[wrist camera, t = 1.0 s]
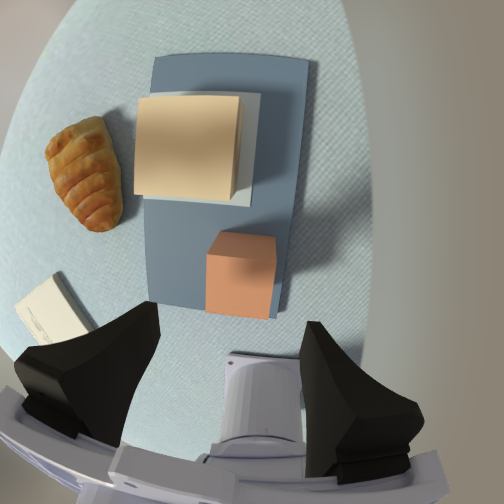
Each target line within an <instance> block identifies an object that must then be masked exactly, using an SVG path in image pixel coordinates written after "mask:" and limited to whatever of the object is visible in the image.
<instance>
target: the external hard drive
mask: <svg viewBox="0 0 504 504" xmlns="http://www.w3.org/2000/svg"><path fill="white" fill-rule="evenodd" d="M15 309H16V311H17V313H18V314H19V316H20V317H21V319H22V320H23V322H24V323H25V325H26V326H27V328H28V329H29V331H30V332H31V333H32V335H33V336H34V338H35V339H36V340H37V342H38V343H39V344H40V345H48V344H53V343H58V342H62V341H66V340H69V339H72V338H75V337H78V336H81V335H84V334H87V333H89V332H91V331H94V330H95V329H94V327H93V326H92V325H91V323H90V322H89V321H88V319H87V318H86V316H85V315H84V314H83V312H82V311H81V309H80V308H79V306H78V305H77V303H76V302H75V300H74V299H73V297H72V296H71V294H70V293H69V291H68V289H67V288H66V286H65V285H64V283H63V281H62V280H61V278H60V276H59V275H58V273H57V272H56V273H55V274H53V275H52V276H51V277H49V278H48V279H47V280H46V281H44V282H43V283H42V284H40V285H39V286H38V287H37V288H35V289H34V290H33V291H32V292H30V293H29V294H28V295H27V296H25V297H24V298H23V299H22V300H21V301H19V302H18V303H17V304H16V305H15Z"/></svg>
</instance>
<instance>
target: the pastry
mask: <svg viewBox="0 0 504 504" xmlns="http://www.w3.org/2000/svg"><path fill="white" fill-rule="evenodd" d="M45 158H46V160H47V161H48V165H49V171H50V176H51V179H52V181H53V182H54V188H55V191H56V193H57V195H59V197H60V198H61V199H62V201H63V202H64V204H65V205H66V206H67V207H68V208H69V209H70V211H71V212H72V214H73V215H74V216H75V217H76V218H77V219H78V220H79V222H80V223H81V224H83V225H84V226H85V227H86V228H87V229H88V230H89V231H94V232H105V231H109V230H111V229H113V228H115V227H116V226H117V224H118V222H119V219H120V217H121V215H122V212H123V201H122V194H121V166H120V165H119V163H118V161H117V156H116V154H115V150H114V146H113V142H112V139H111V136H110V134H109V131H108V129H107V127H106V124H105V122H104V120H103V119H102V118H101V117H100V116H94V117H90V118H87V119H84V120H81V121H80V122H79V123H76V124H74V125H71V126H69V127H66V128H65V129H64V130H62V131H61V132H59V133H58V134H57V135H56V136H54V137H53V138H52V139H51V140H50V142H49V144H48V145H47V147H46V150H45Z"/></svg>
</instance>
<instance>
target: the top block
mask: <svg viewBox="0 0 504 504" xmlns="http://www.w3.org/2000/svg"><path fill="white" fill-rule="evenodd" d="M276 263H277V258H276V241H275V237H271V236H262V235H253V234H243V233H234V232H224V231H220V232H219V234H218V235H217V237H216V239H215V241H214V242H213V244H212V246H211V248H210V249H209V251H208V253H207V262H206V312H208V313H215V314H223V315H231V316H239V317H248V318H257V319H267V320H268V318H269V311H270V305H271V298H272V291H273V285H274V278H275V271H276Z"/></svg>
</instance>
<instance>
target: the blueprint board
mask: <svg viewBox="0 0 504 504" xmlns="http://www.w3.org/2000/svg"><path fill="white" fill-rule="evenodd" d="M308 65H309V61H308V60H301V59H294V58H286V57H277V56H266V55H252V54H187V55H173V56H162V57H155V60H154V66H153V73H152V80H151V88H150V93H149V97H163V96H192V95H210V96H239V97H240V99H241V101H242V102H243V104H244V106H245V107H244V117H243V127H242V137H241V148H240V159H239V170H238V182H237V192H236V193H235V195H234V196H233V197H232V199H231V200H230V201H223V200H212V199H199V198H186V197H171V196H154V195H143V199H144V233H145V255H146V270H147V282H148V293H149V301H150V302H156V303H160V304H166V305H172V306H178V307H185V308H191V309H198V310H205V311H206V262H207V253H208V251H209V249H210V248H211V246H212V244H213V242H214V241H215V239H216V237H217V235H218V234H219V232H220V231H224V232H234V233H243V234H253V235H262V236H271V237H275V241H276V258H277V263H276V271H275V278H274V285H273V291H272V298H271V305H270V311H269V318H274V319H276V318H277V312H278V306H279V300H280V294H281V288H282V282H283V275H284V269H285V262H286V256H287V249H288V242H289V235H290V228H291V221H292V214H293V206H294V199H295V191H296V183H297V175H298V166H299V158H300V149H301V140H302V131H303V121H304V111H305V100H306V89H307V77H308Z"/></svg>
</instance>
